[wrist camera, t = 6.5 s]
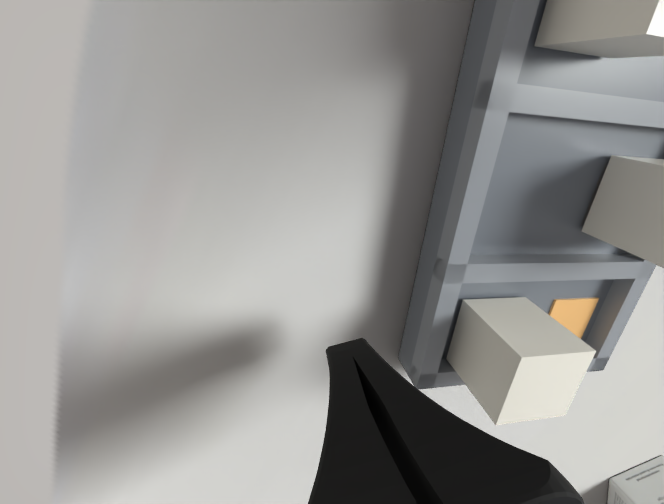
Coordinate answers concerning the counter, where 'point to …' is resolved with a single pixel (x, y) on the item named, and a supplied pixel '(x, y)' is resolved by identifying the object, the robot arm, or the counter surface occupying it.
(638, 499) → the ink box
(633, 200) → the cream rectangular block
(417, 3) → the counter surface
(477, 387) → the off-white rectangular block
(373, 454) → the robot arm
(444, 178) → the grey divided tray
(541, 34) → the off-white rectangular block
